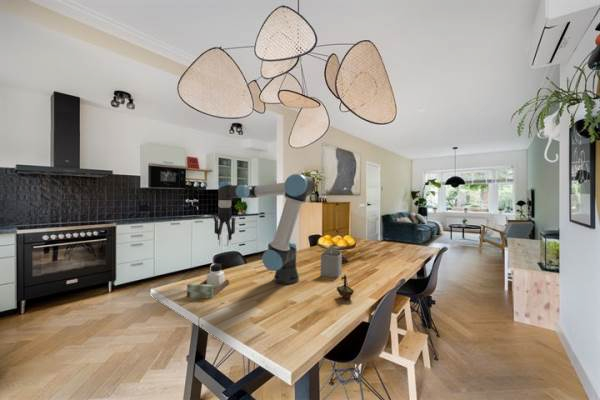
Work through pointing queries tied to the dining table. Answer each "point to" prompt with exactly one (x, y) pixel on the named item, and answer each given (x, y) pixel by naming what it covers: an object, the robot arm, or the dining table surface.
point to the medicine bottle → (215, 275)
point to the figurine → (345, 289)
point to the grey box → (331, 262)
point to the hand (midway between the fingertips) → (224, 245)
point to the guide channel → (204, 289)
